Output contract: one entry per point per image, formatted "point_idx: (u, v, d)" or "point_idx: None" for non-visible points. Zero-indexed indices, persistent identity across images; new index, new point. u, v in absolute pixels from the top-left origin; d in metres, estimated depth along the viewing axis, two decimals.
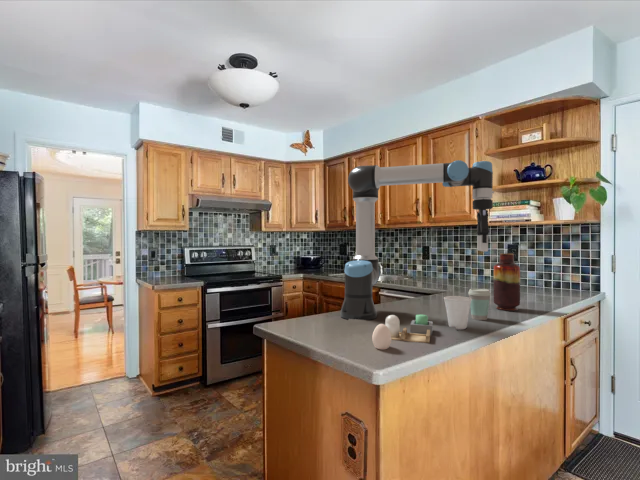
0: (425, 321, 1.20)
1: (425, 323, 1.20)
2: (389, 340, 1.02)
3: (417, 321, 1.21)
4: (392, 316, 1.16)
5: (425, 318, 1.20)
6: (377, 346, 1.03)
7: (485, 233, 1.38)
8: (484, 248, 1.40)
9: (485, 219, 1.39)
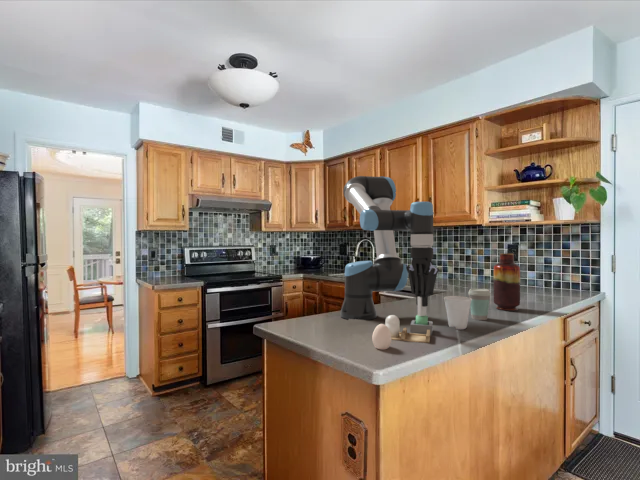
0: (425, 321, 1.20)
1: (425, 323, 1.20)
2: (389, 340, 1.02)
3: (417, 322, 1.21)
4: (392, 316, 1.16)
5: (425, 318, 1.20)
6: (377, 346, 1.03)
7: None
8: (423, 312, 1.21)
9: (433, 280, 1.18)
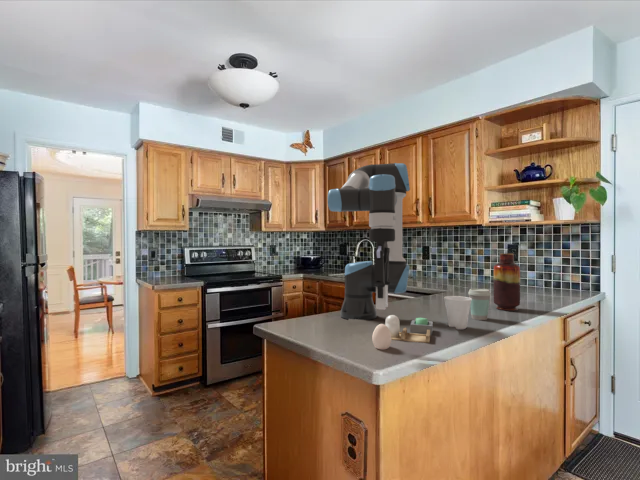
0: (425, 324, 1.20)
1: None
2: (389, 340, 1.02)
3: None
4: (392, 316, 1.16)
5: (425, 321, 1.20)
6: (377, 346, 1.03)
7: (380, 285, 1.00)
8: (380, 305, 1.02)
9: (379, 266, 0.99)
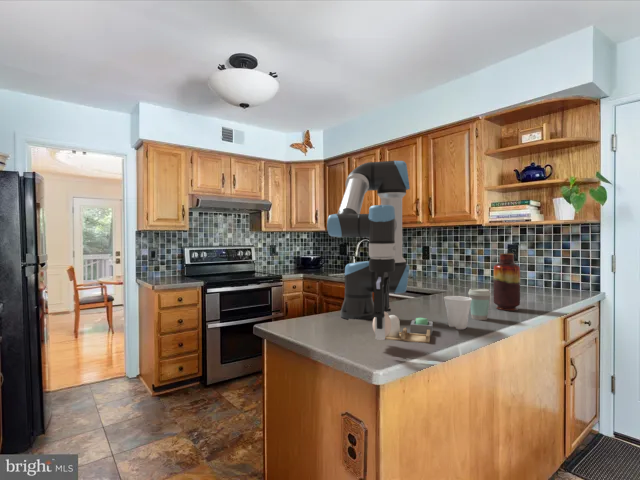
0: (425, 324, 1.20)
1: None
2: (389, 326, 1.03)
3: None
4: (392, 316, 1.16)
5: (425, 321, 1.20)
6: None
7: (379, 316, 0.99)
8: (380, 335, 1.02)
9: (378, 297, 0.99)
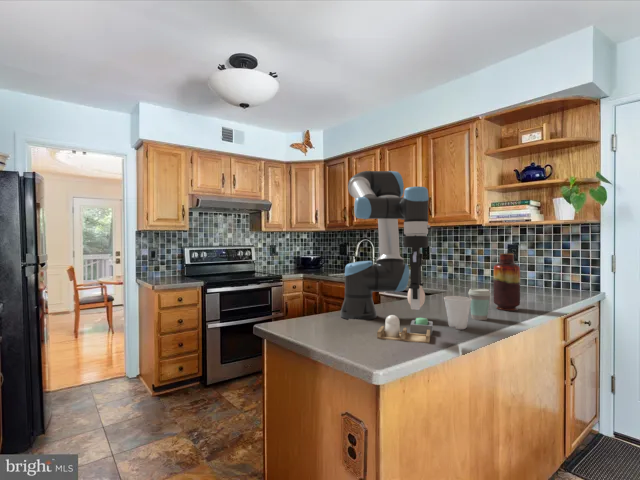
0: (425, 324, 1.20)
1: None
2: (423, 298, 1.12)
3: None
4: (392, 316, 1.16)
5: (425, 321, 1.20)
6: None
7: (415, 287, 1.09)
8: (415, 305, 1.11)
9: (415, 269, 1.08)
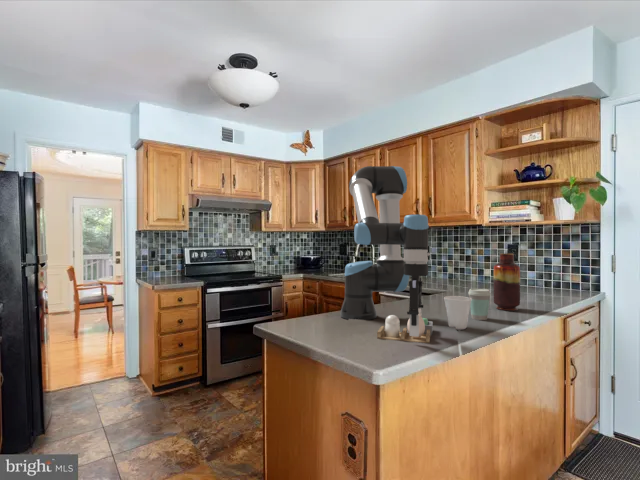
0: (425, 324, 1.20)
1: None
2: (423, 328, 1.12)
3: None
4: (392, 316, 1.16)
5: (425, 321, 1.20)
6: None
7: (414, 314, 1.06)
8: (414, 332, 1.07)
9: (414, 294, 1.06)
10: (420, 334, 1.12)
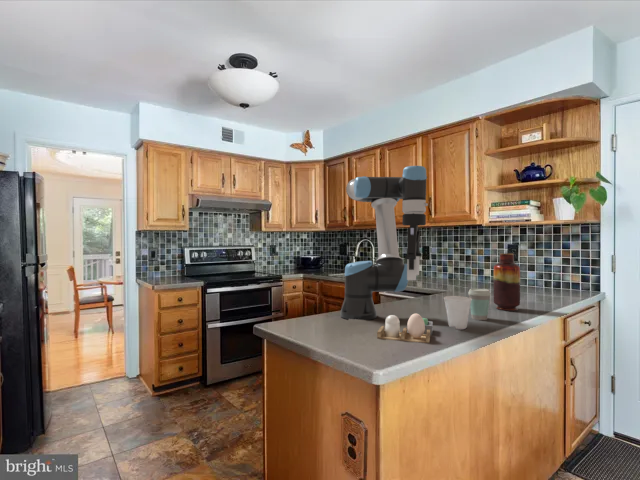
0: (425, 324, 1.20)
1: None
2: (423, 328, 1.12)
3: None
4: (392, 316, 1.16)
5: (425, 321, 1.20)
6: (412, 333, 1.12)
7: (411, 258, 1.09)
8: (411, 276, 1.12)
9: (412, 240, 1.11)
10: (420, 334, 1.12)
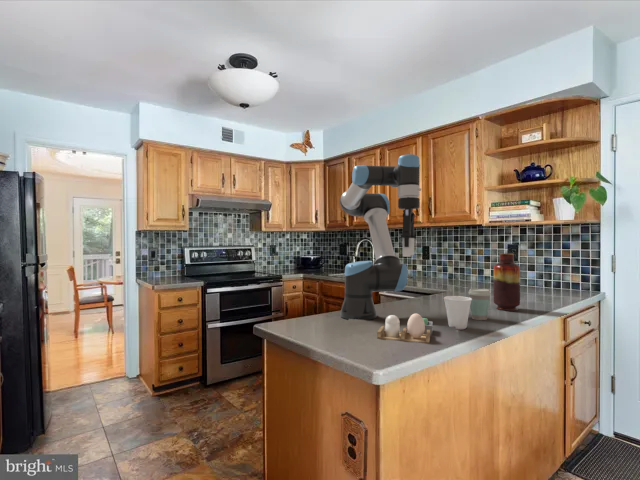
0: (425, 324, 1.20)
1: None
2: (423, 328, 1.12)
3: None
4: (392, 316, 1.16)
5: (425, 321, 1.20)
6: (412, 333, 1.12)
7: (406, 236, 1.21)
8: (406, 253, 1.23)
9: (407, 220, 1.22)
10: (420, 334, 1.12)
